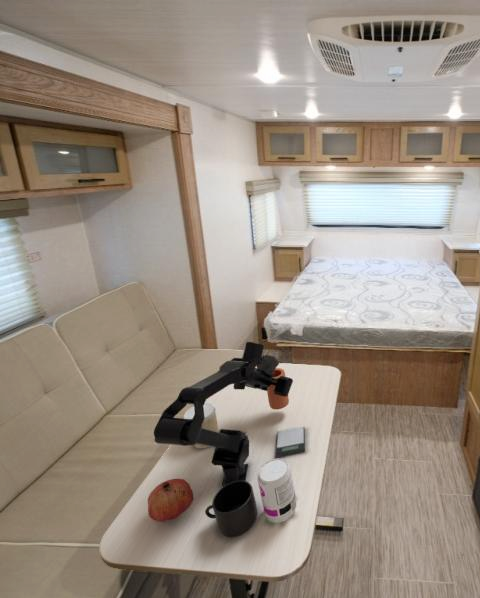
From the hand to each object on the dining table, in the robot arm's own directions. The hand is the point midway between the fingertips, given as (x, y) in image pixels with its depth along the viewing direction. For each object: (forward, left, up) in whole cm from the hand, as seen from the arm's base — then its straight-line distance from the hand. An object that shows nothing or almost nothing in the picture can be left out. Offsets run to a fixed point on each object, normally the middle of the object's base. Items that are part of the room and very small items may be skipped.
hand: (279, 386), depth 124 cm
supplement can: (-40, -1, -13) cm, 42 cm away
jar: (-1, +1, -7) cm, 7 cm away
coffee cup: (-7, +25, -13) cm, 29 cm away
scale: (-16, -3, -12) cm, 20 cm away
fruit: (-33, +27, -13) cm, 44 cm away
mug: (-40, +11, -13) cm, 43 cm away
